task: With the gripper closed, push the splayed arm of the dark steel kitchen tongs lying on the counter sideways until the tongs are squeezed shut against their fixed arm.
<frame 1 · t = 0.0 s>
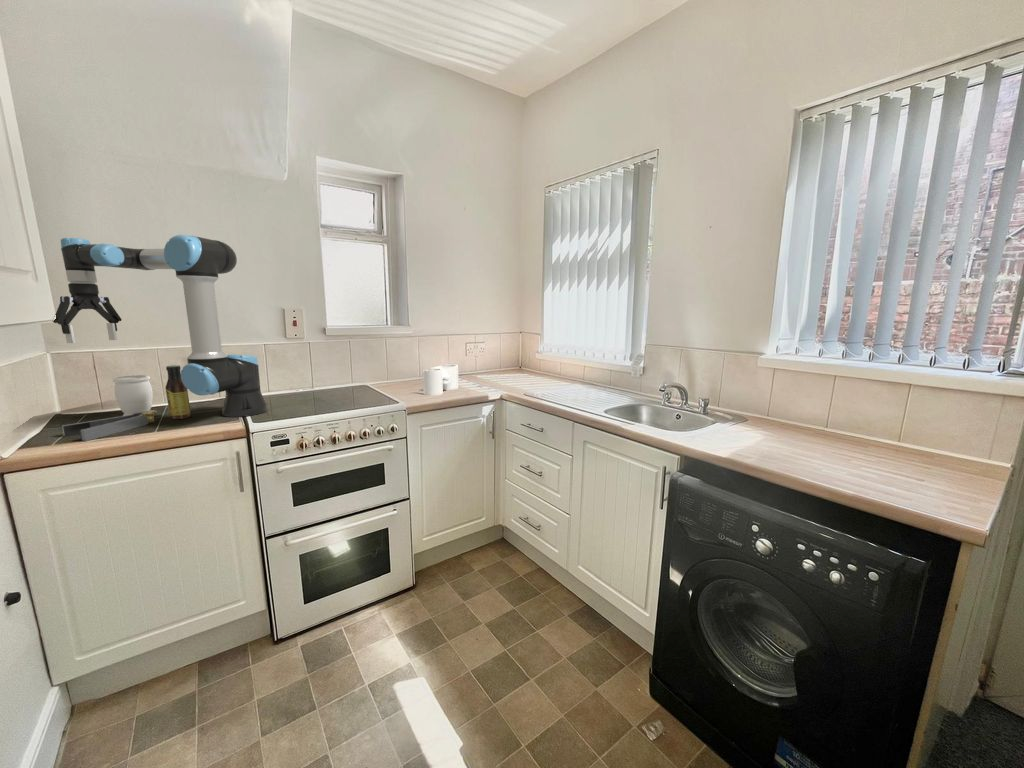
hand: (93, 341, 154), 28 cm above the worktop, fingers open, 13 cm apart
sauce bottle: (180, 418, 156), on the worktop
jar: (138, 416, 157), on the worktop
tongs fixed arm: (150, 422, 150), on the worktop
tongs moving arm: (113, 422, 141), point 2 cm above the worktop, hinge at -25.0°
white paper rolls: (442, 391, 211), on the worktop
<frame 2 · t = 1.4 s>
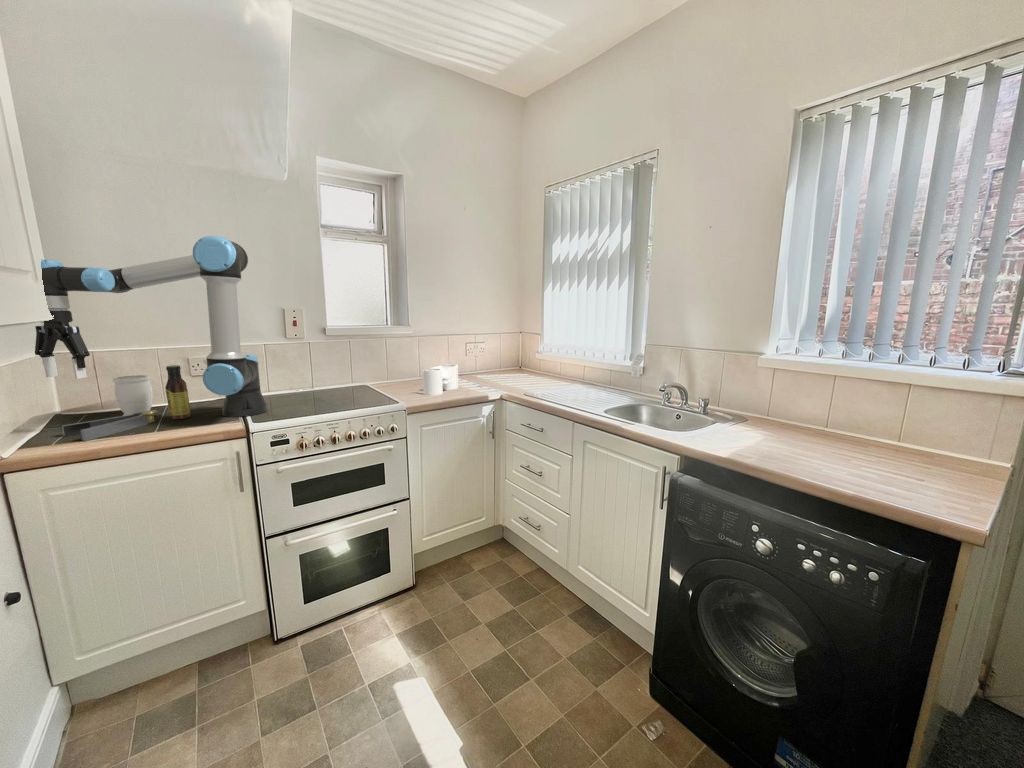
hand: (66, 377, 136), 18 cm above the worktop, fingers open, 11 cm apart
nothing on the worktop moved.
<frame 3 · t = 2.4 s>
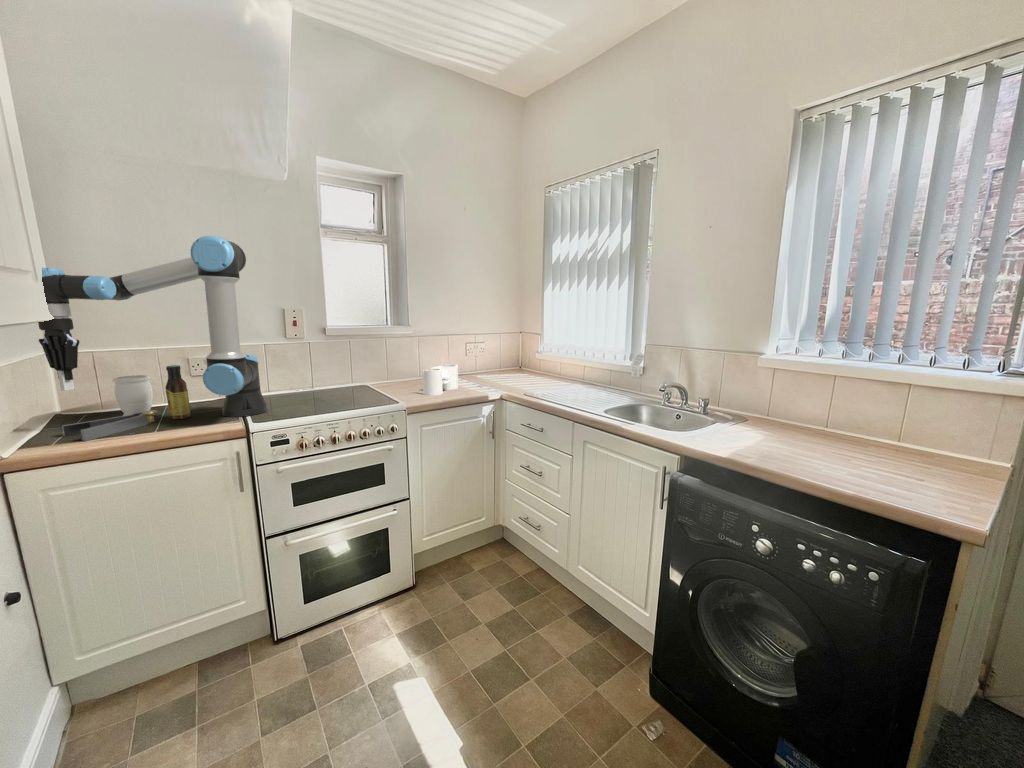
hand: (67, 389, 137), 14 cm above the worktop, fingers closed
nothing on the worktop moved.
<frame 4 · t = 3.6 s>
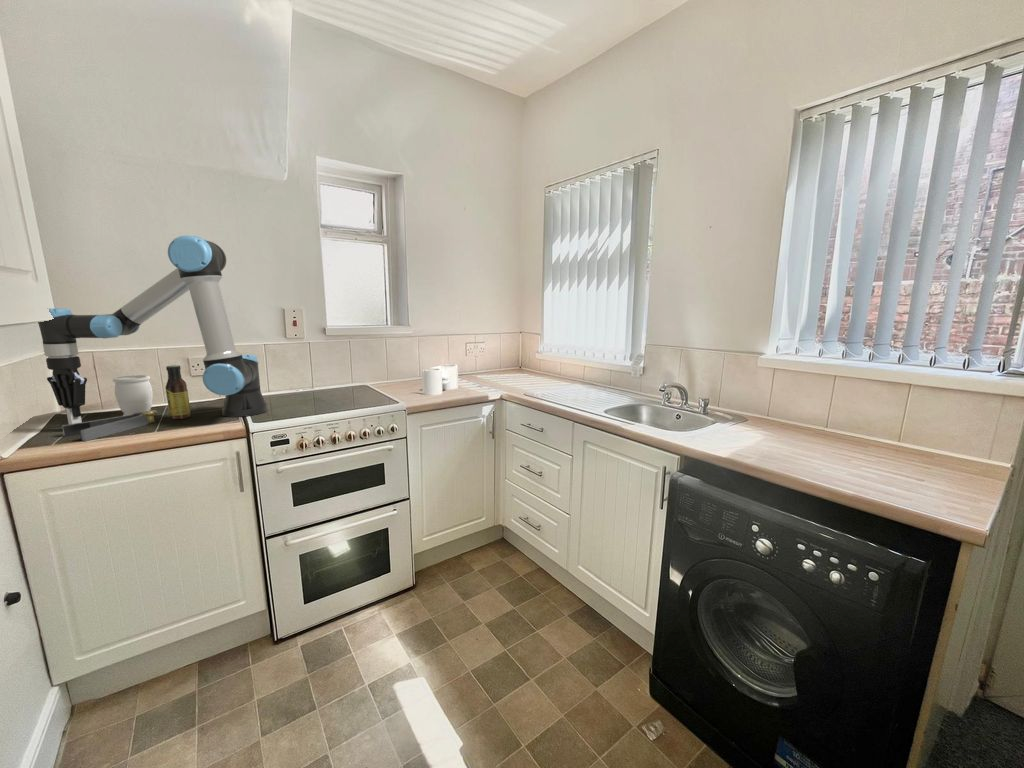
hand: (75, 426, 139), 1 cm above the worktop, fingers closed
nothing on the worktop moved.
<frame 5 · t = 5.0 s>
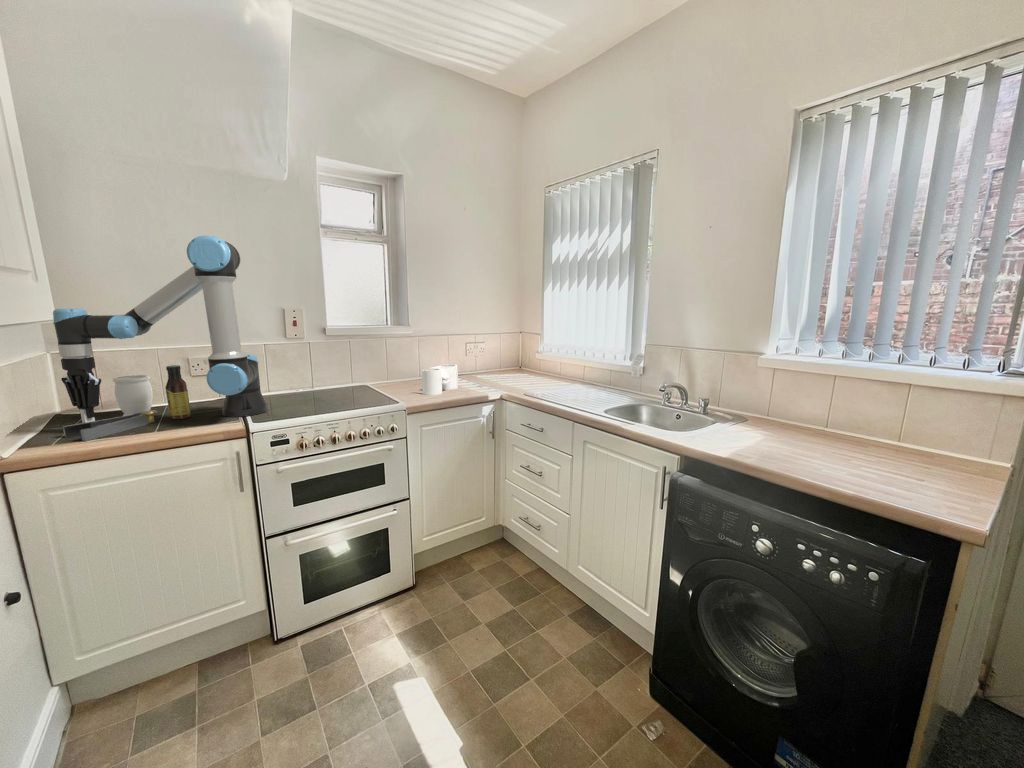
hand: (89, 427, 138), 1 cm above the worktop, fingers closed
tongs moving arm: (114, 423, 141), point 2 cm above the worktop, hinge at -21.3°, touching gripper
everything else where it was.
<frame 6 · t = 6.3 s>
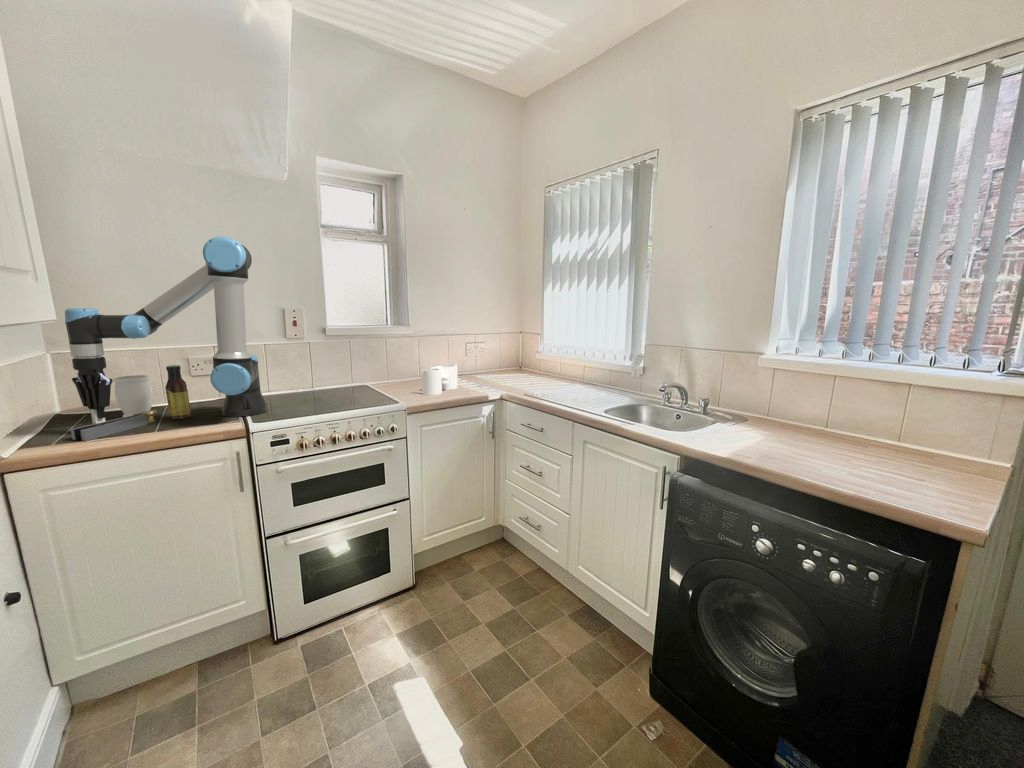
hand: (100, 427, 137), 2 cm above the worktop, fingers closed
tongs moving arm: (118, 424, 140), point 2 cm above the worktop, hinge at -4.8°, touching gripper
everything else where it was.
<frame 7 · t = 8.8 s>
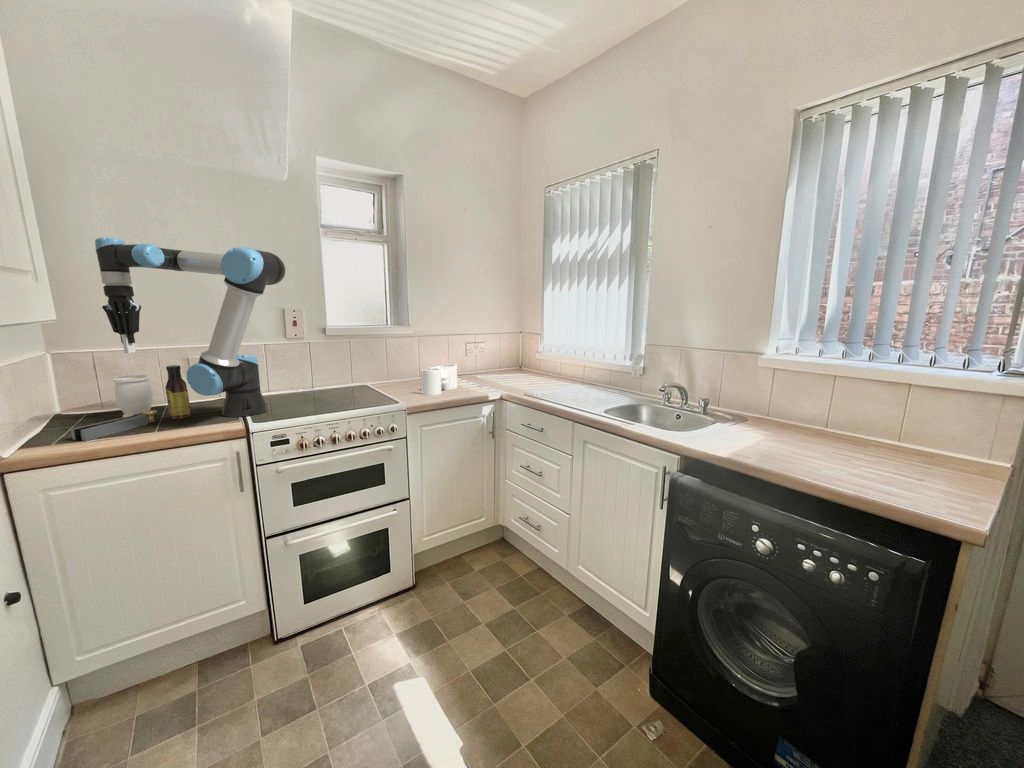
hand: (130, 352, 148), 25 cm above the worktop, fingers closed
tongs moving arm: (118, 424, 140), point 2 cm above the worktop, hinge at -4.7°
everything else where it was.
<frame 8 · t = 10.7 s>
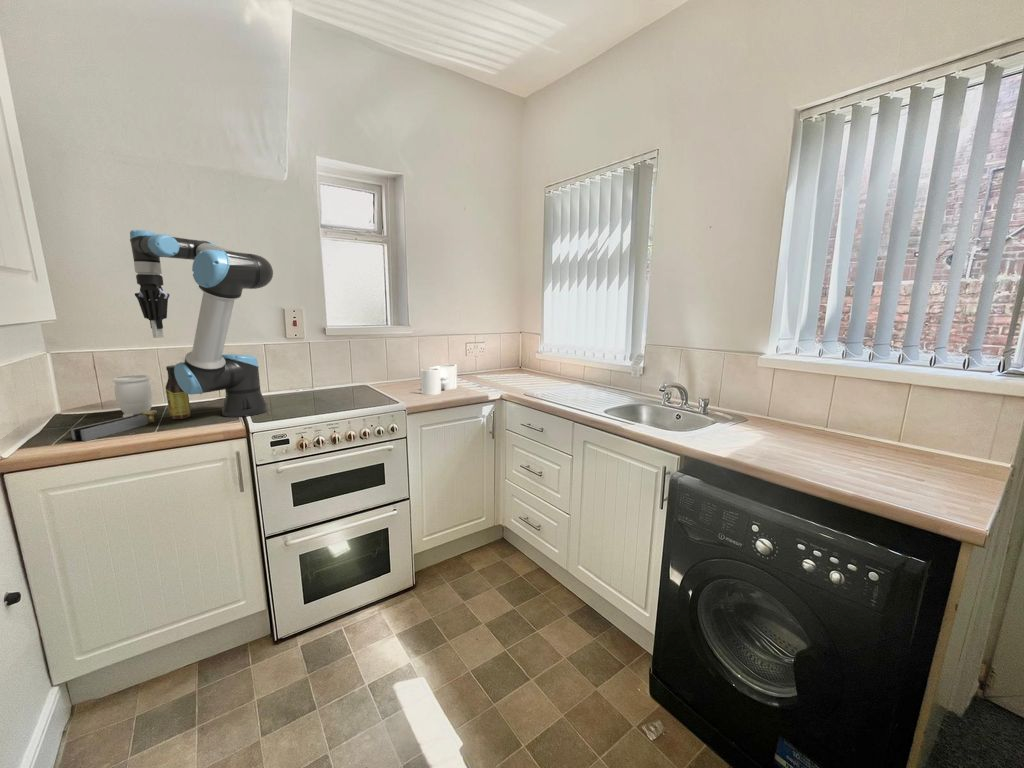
hand: (158, 337, 159), 29 cm above the worktop, fingers closed
at the end: tongs moving arm at -5° (first picture: -25°) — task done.
